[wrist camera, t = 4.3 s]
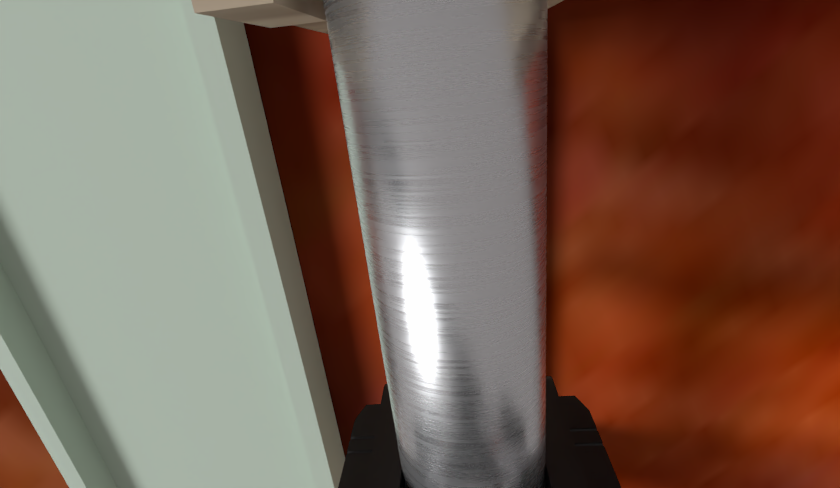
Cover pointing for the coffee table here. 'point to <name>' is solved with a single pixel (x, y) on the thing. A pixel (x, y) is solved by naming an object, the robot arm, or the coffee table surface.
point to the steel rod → (453, 225)
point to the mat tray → (152, 255)
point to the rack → (273, 12)
